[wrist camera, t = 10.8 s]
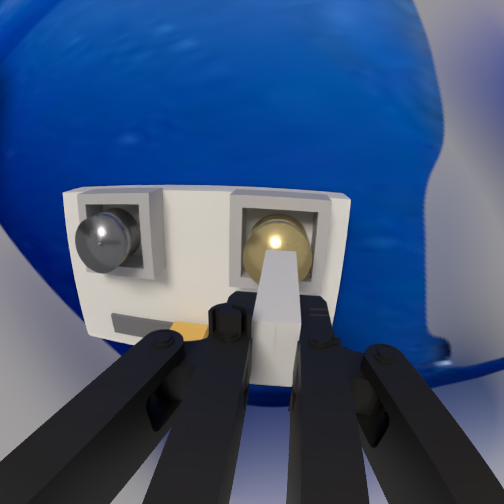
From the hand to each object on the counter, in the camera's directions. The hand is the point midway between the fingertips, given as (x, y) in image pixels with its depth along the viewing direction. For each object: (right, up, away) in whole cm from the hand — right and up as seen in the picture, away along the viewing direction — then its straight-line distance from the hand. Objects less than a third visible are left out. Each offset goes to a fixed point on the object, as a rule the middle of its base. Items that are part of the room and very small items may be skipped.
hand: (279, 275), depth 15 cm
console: (-6, 0, +11) cm, 13 cm away
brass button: (0, +2, +5) cm, 5 cm away
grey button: (-12, +3, +6) cm, 13 cm away
